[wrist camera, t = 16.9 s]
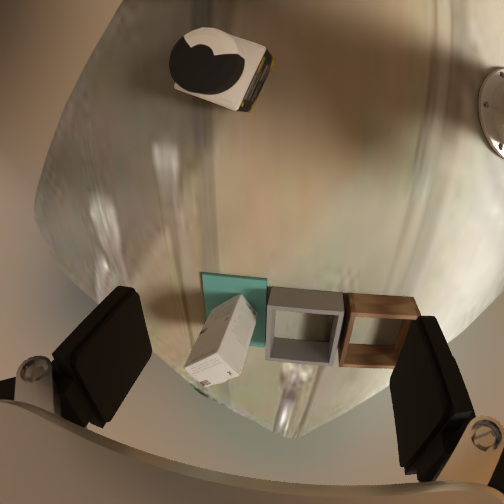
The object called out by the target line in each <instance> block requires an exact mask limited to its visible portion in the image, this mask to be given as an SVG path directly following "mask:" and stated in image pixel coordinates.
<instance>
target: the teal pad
mask: <svg viewBox="0 0 504 504" xmlns="http://www.w3.org/2000/svg"><path fill="white" fill-rule="evenodd" d="M202 279H203V290H204V301H205V311H206V320H207V318H208V316H209V314H210V312H211V310H212V309H214V308H215V307H217V306H218V305H220V304H222V303H223V302H225V301H227V300H229V299H231V298H233V297H234V296H236V295H239V294H242V295H243V296H244V297H245V298H246V299H247V300H248V302H249V303H250V304H251V305H252V306H253V308H254V309H255V310H256V311H257V312H258V317H257V321H256V324H255V327H254V331H253V334H252V337H251V341H250V344H249V346H255V347H263V348H265V338H266V305H267V278H256V277H246V276H235V275H225V274H215V273H205V272H203V274H202Z"/></svg>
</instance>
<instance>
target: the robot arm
mask: <svg viewBox="0 0 504 504" xmlns="http://www.w3.org/2000/svg"><path fill="white" fill-rule="evenodd" d="M478 111H479V118H480V123H481V126H482V129H483V132H484V134H485V136H486V138H487V140H488V142H489V144H490V145H491V147H492V148H493V149H494V150H495V151H496V152H497V154H498V155H500V156H501V157H502V158H504V68H502V69H497V70H495V71H492V72H491V73H490V74H489V75H487V77H486V78H485V80H484V81H483V83H482V86H481V88H480V92H479V98H478ZM151 354H152V347H151V343H150V339H149V335H148V331H147V327H146V323H145V319H144V315H143V310H142V306H141V301H140V297H139V294H138V293H137V292H136V291H135V289H134V288H131V287H125V286H118V287H116V288H115V289H114V290H113V291H112V292H111V293H110V294H109V295H108V296H107V297H106V298H105V299H104V300H103V301H102V302H101V303H100V304H99V305H98V306H97V307H96V308H95V309H94V310H93V311H92V312H91V313H90V314H89V315H88V316H87V317H86V318H85V319H84V320H83V321H82V322H81V323H80V324H79V325H78V327H77V328H76V329H75V330H74V331H73V332H72V333H71V334H70V335H69V336H68V337H67V338H66V339H65V340H64V341H63V343H61V345H60V346H59V347H58V348H57V349H56V350H55V351H54V352H53V353H52V356H53V358H54V360H53V361H52V362H51V361H50V360H49V359H48V358H47V357H45V356H34V357H30V358H28V359H27V360H25V361H24V362H23V363H22V364H21V365H20V366H19V368H18V370H17V373H16V377H13V378H10V379H6V380H2V381H0V504H504V428H503V426H502V425H501V424H500V423H499V421H497V420H496V419H494V418H492V417H490V416H478V417H476V416H475V413H474V409H473V406H472V403H471V400H470V398H469V395H468V392H467V389H466V387H465V384H464V381H463V378H462V376H461V373H460V371H459V368H458V365H457V363H456V361H455V359H454V357H453V356H452V354H451V351H450V349H449V346H448V344H447V342H446V339H445V337H444V335H443V333H442V330H441V328H440V326H439V324H438V322H437V319H436V318H435V317H434V316H418V317H417V319H416V320H412V322H411V324H410V327H409V330H408V333H407V336H406V339H405V341H404V344H403V347H402V349H401V352H400V355H399V357H398V360H397V362H396V365H395V367H394V370H393V372H392V375H391V378H390V391H391V397H392V403H393V410H394V418H395V425H396V434H397V442H398V451H399V462H400V466H401V467H404V469H405V475H410V474H417V480H419V481H418V483H405V484H391V485H363V486H362V485H358V486H340V485H339V486H338V485H336V486H335V485H312V484H299V483H288V482H279V481H271V480H262V479H256V478H250V477H243V476H238V475H232V474H227V473H222V472H217V471H213V470H208V469H203V468H200V467H196V466H191V465H188V464H184V463H180V462H177V461H173V460H170V459H166V458H163V457H160V456H157V455H153V454H150V453H147V452H144V451H141V450H138V449H135V448H133V447H130V446H127V445H125V444H122V443H119V442H117V441H114V440H112V439H109V438H106V437H104V436H102V435H100V434H97V433H95V432H93V431H90V430H88V429H87V424H88V423H89V421H90V423H91V424H94V425H96V426H98V427H101V428H103V427H104V425H105V424H106V422H109V421H111V420H112V418H113V416H114V415H115V413H116V412H117V410H118V408H119V407H120V405H121V403H122V402H123V400H124V398H125V397H126V395H127V394H128V392H129V391H130V389H131V387H132V386H133V384H134V383H135V381H136V379H137V378H138V376H139V375H140V373H141V371H142V370H143V368H144V367H145V365H146V363H147V362H148V360H149V359H150V357H151Z"/></svg>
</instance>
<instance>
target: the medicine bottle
mask: <svg viewBox="0 0 504 504" xmlns="http://www.w3.org/2000/svg"><path fill="white" fill-rule="evenodd" d="M273 63H274V58H273V57H272V56H271V54H270V53H269V51H268V50H267V48H266V47H265V46H263V45H260V44H257V43H255V42H252V41H249V40H246V39H243V38H239V37H236V36H233V35H230V34H227V33H225V32H223V31H221V30H219V29H216V28H205V27H201V28H199V29H196V30H193V31H191V32H189V33H187V34H186V35H184V36H183V37H182V38H181V39H180V40H179V41H178V42H177V43H176V45H175V46H174V48H173V50H172V52H171V55H170V60H169V68H170V73H171V75H172V77H173V79H174V81H175V82H176V83H175V85H174V88H175V89H176V90H179V91H182V92H185V93H188V94H191V95H194V96H196V97H199V98H202V99H205V100H207V101H210V102H213V103H215V104H218V105H221V106H223V107H226V108H228V109H231V110H233V111H244V112H250V111H251V110H252V108H253V106H254V104H255V102H256V100H257V97H258V95H259V93H260V91H261V89H262V87H263V84H264V82H265V80H266V78H267V76H268V74H269V72H270V70H271V68H272V65H273Z"/></svg>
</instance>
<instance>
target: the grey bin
mask: <svg viewBox="0 0 504 504" xmlns="http://www.w3.org/2000/svg"><path fill="white" fill-rule="evenodd" d="M275 310H281V311H291V312H302V313H314V314H327V315H334V319H333V324H332V330H331V335H330V340H329V342H318V341H306V340H295V339H284V338H275V337H274V329H275ZM343 316H344V303H343V294H342V292H329V291H316V290H304V289H293V288H281V287H272V289H271V293H270V297H269V300H268V304H267V327H266V355H265V360H270V361H279V362H288V363H298V364H310V365H322V366H333V362H334V358H335V354H336V349H337V345H338V340H339V336H340V331H341V326H342V321H343Z"/></svg>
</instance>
